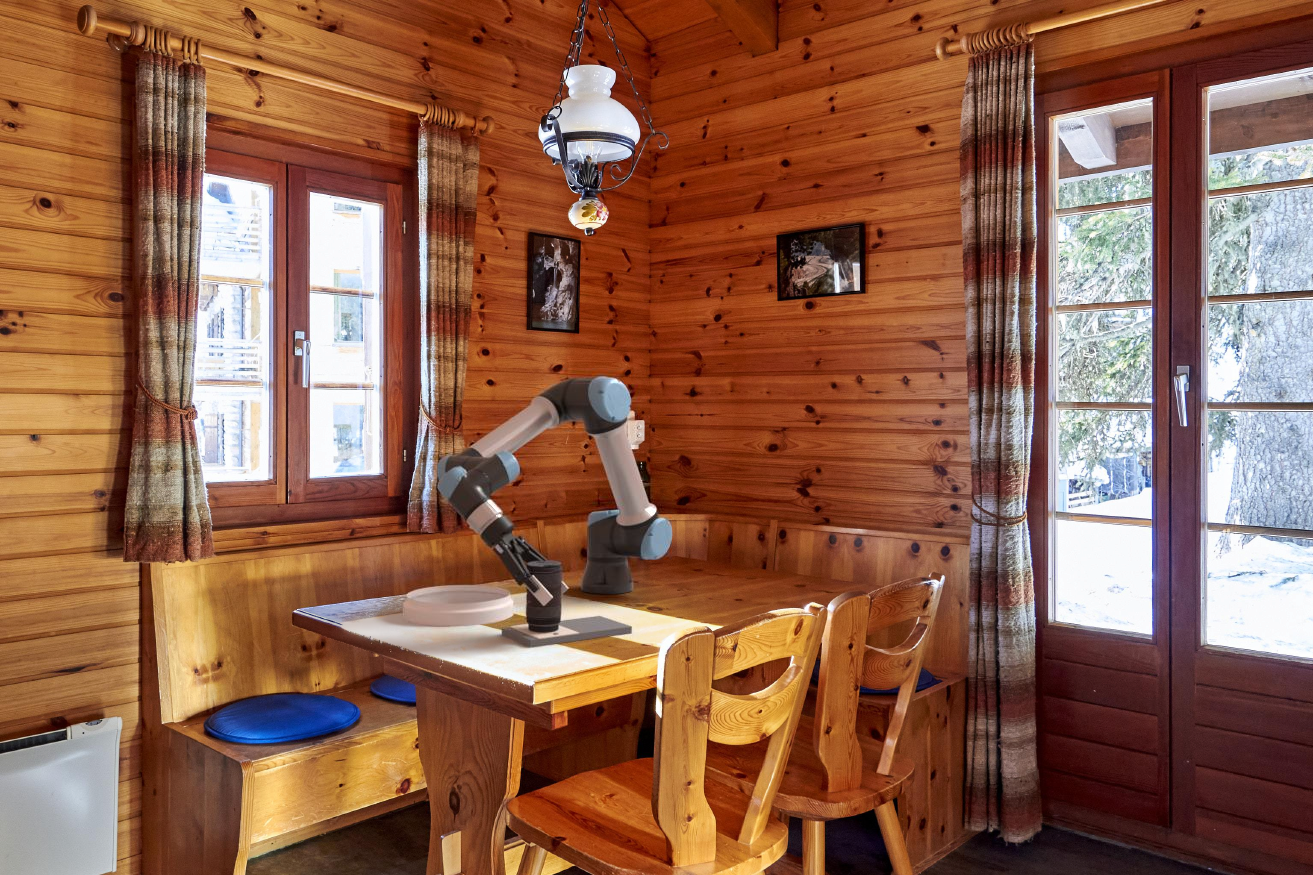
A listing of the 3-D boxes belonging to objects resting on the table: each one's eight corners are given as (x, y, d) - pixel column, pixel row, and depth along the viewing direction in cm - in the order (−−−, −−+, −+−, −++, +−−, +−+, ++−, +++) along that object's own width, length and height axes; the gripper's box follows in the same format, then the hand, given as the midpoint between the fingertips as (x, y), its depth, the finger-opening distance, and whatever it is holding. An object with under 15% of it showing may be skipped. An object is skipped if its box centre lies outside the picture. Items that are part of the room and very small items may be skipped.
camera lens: (518, 628, 209) (519, 561, 209) (549, 624, 214) (550, 559, 213) (536, 635, 202) (537, 566, 202) (568, 630, 207) (569, 563, 207)
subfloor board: (599, 621, 225) (599, 614, 225) (631, 632, 214) (631, 624, 214) (501, 634, 210) (501, 626, 210) (530, 647, 199) (530, 638, 199)
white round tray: (479, 631, 215) (479, 607, 214) (380, 621, 223) (380, 598, 223) (532, 609, 240) (532, 588, 240) (441, 601, 249) (441, 581, 249)
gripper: (499, 530, 223) (560, 598, 220) (459, 542, 200) (527, 618, 197) (520, 509, 221) (582, 577, 219) (483, 518, 199) (551, 594, 196)
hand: (556, 596), depth 208 cm, fingers open, 11 cm apart
